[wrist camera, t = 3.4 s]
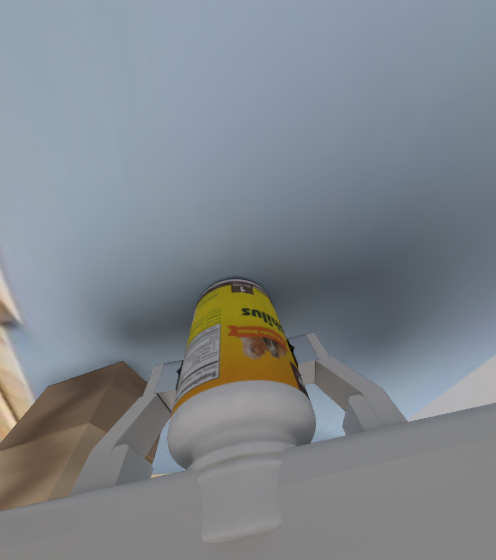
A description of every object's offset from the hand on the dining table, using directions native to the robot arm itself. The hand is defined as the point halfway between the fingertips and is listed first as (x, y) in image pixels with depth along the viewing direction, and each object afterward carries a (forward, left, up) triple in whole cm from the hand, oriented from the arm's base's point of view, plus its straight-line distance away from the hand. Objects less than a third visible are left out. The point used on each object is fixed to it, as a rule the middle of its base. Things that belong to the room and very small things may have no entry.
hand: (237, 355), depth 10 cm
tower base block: (+13, +7, -4) cm, 15 cm away
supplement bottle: (0, 0, -4) cm, 4 cm away
